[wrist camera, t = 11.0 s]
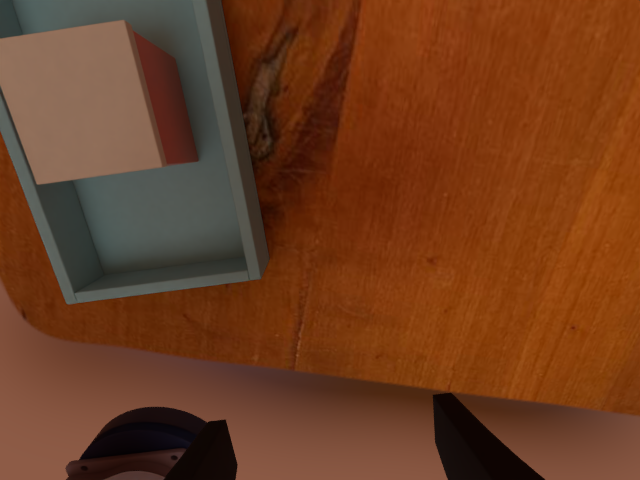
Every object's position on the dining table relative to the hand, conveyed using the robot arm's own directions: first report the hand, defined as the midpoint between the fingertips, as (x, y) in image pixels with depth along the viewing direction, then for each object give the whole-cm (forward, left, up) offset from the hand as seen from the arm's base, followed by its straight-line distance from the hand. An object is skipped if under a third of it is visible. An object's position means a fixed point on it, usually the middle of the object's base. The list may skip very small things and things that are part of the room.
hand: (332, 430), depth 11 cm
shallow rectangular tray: (-8, +12, -9) cm, 17 cm away
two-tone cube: (-8, +12, -9) cm, 17 cm away
